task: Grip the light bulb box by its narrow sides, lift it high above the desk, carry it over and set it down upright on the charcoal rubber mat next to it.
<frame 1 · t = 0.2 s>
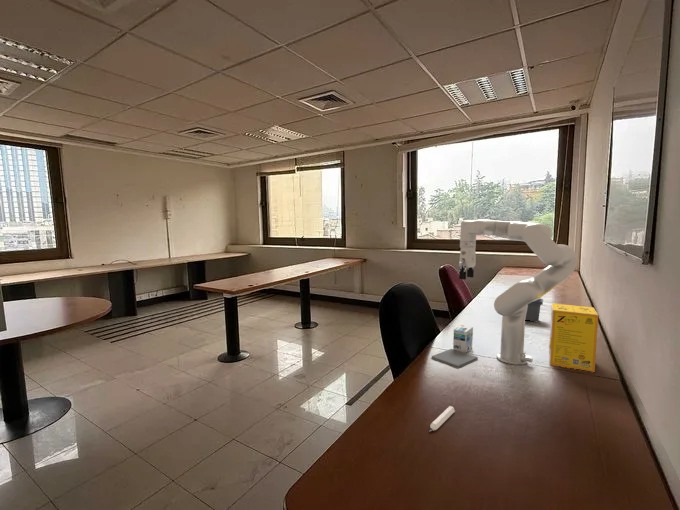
hand: (466, 278, 173), 35 cm above the table, tool pointing down, fingers open, 9 cm apart
marker: (440, 423, 107), on the table
storage bin: (523, 319, 228), on the table
light bulb box: (462, 349, 172), on the table
mat: (454, 358, 158), on the table
packaging box: (570, 362, 154), on the table
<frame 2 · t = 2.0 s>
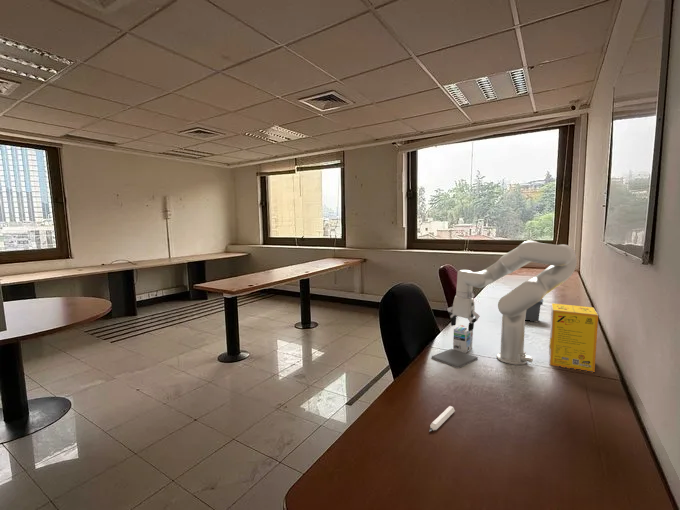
hand: (461, 327, 171), 11 cm above the table, tool pointing down, fingers open, 9 cm apart
light bulb box: (462, 349, 172), on the table, touching gripper
everything else where it was.
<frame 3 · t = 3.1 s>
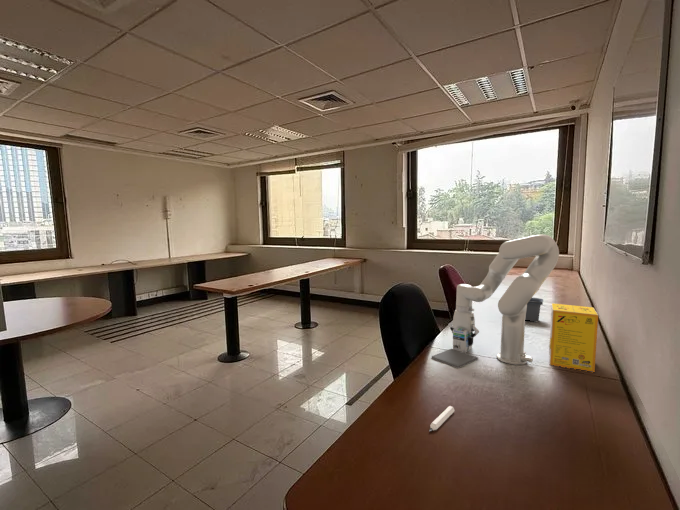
hand: (462, 342, 171), 3 cm above the table, tool pointing down, fingers closed on light bulb box, 7 cm apart
light bulb box: (462, 349, 172), on the table, touching gripper
everything else where it was.
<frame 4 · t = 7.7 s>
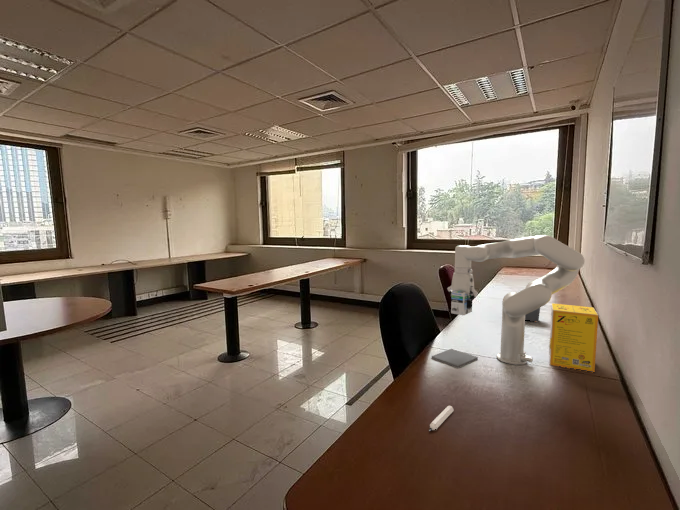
hand: (461, 306, 165), 23 cm above the table, tool pointing down, fingers closed on light bulb box, 7 cm apart
light bulb box: (461, 313, 166), point 20 cm above the table, touching gripper
everything else where it was.
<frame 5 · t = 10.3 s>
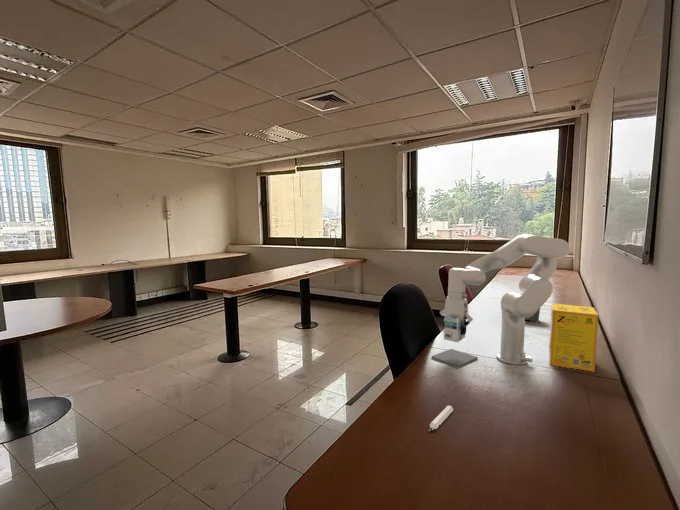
hand: (454, 331, 157), 13 cm above the table, tool pointing down, fingers closed on light bulb box, 7 cm apart
light bulb box: (454, 338, 158), point 10 cm above the table, touching gripper
everything else where it was.
when the fingers open (5 cm above the table, at t = 12.4 s): light bulb box stays where it is, resting on mat.
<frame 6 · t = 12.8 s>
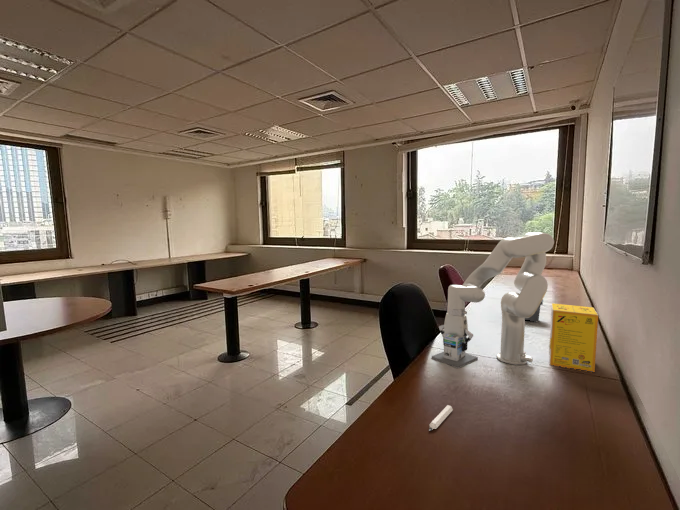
hand: (454, 347, 158), 5 cm above the table, tool pointing down, fingers open, 9 cm apart
light bulb box: (454, 357, 158), point 1 cm above the table, touching mat
everything else where it was.
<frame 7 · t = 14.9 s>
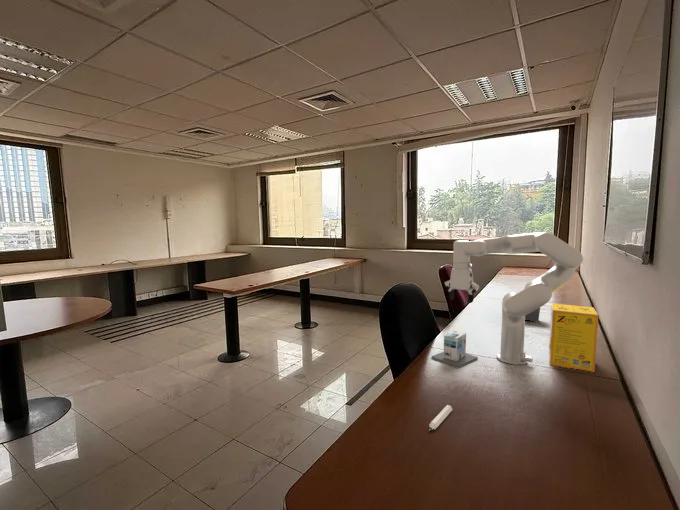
hand: (461, 301, 164), 26 cm above the table, tool pointing down, fingers open, 9 cm apart
nothing on the table moved.
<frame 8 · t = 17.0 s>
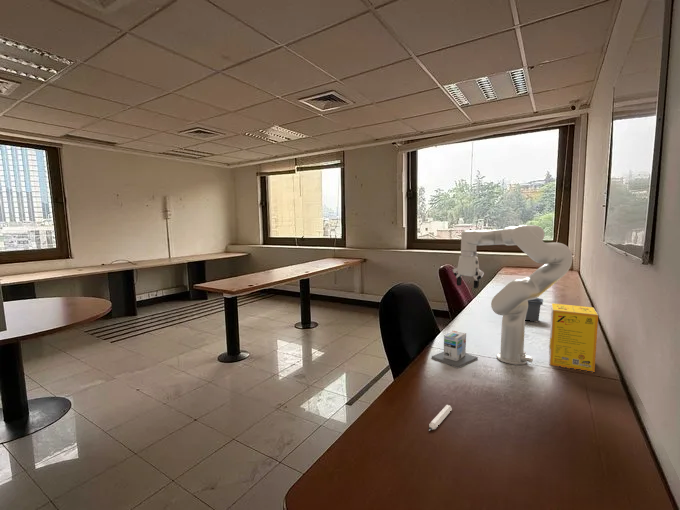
hand: (467, 286, 178), 30 cm above the table, tool pointing down, fingers open, 9 cm apart
nothing on the table moved.
at the end: light bulb box inside the target area on the mat (0.2 cm from its centre), point 0.8 cm above the mat's base; light bulb box tilted 0°; the gripper is holding nothing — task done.
